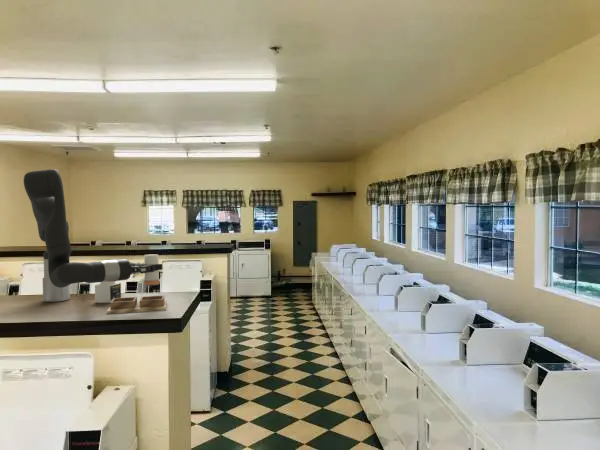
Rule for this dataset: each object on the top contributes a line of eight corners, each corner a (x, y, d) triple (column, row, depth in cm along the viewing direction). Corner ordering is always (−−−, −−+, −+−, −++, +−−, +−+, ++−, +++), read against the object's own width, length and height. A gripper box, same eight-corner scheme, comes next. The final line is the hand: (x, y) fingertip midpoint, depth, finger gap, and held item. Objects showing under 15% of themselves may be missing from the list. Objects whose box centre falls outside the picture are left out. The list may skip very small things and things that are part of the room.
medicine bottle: (110, 303, 181) (110, 273, 180) (94, 302, 182) (94, 272, 182) (121, 299, 188) (120, 270, 187) (105, 299, 189) (105, 270, 189)
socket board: (106, 313, 162) (106, 304, 161) (112, 306, 175) (112, 297, 175) (165, 310, 167) (165, 300, 167) (166, 302, 180) (166, 293, 180)
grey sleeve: (143, 285, 168) (143, 255, 168) (144, 283, 174) (144, 254, 173) (159, 284, 170) (158, 255, 169) (159, 282, 175) (159, 254, 175)
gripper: (123, 261, 156) (167, 257, 169) (105, 258, 166) (148, 255, 178) (123, 282, 156) (168, 277, 169) (105, 279, 166) (148, 274, 178)
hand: (157, 266), depth 173 cm, fingers closed on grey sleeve, 5 cm apart
